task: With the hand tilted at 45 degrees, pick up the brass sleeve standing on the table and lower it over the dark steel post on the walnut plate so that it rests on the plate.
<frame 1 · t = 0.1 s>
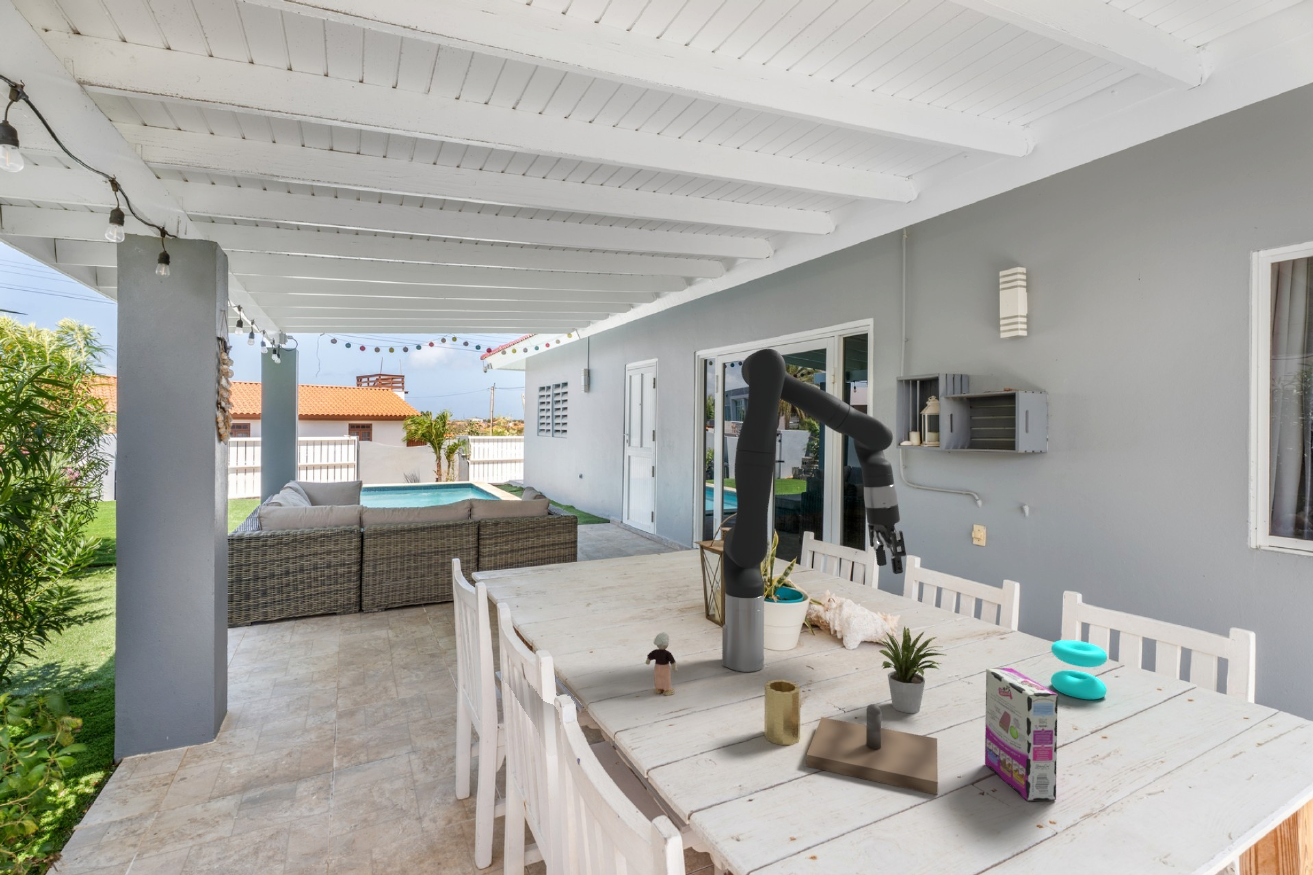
hand: (889, 569, 153), 22 cm above the table, tool pointing down, fingers open, 8 cm apart
brass sleeve: (782, 736, 115), on the table
candy bar box: (1019, 782, 101), on the table
grandmother figurine: (661, 692, 135), on the table
house plant: (904, 710, 126), on the table
donuts: (1078, 692, 135), on the table
post plate: (873, 757, 108), on the table
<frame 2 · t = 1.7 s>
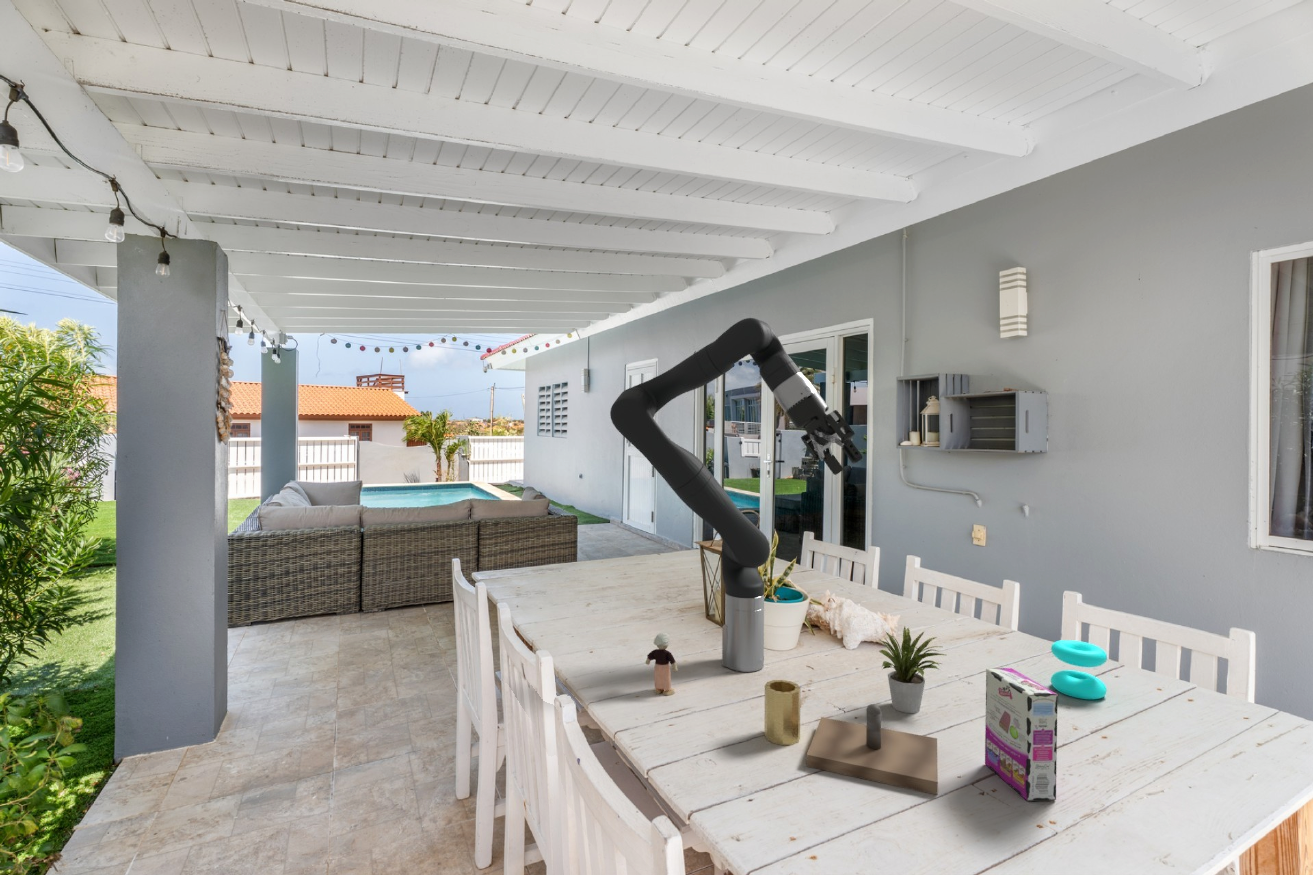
hand: (848, 467, 123), 49 cm above the table, tool tilted 35°, fingers open, 8 cm apart
nothing on the table moved.
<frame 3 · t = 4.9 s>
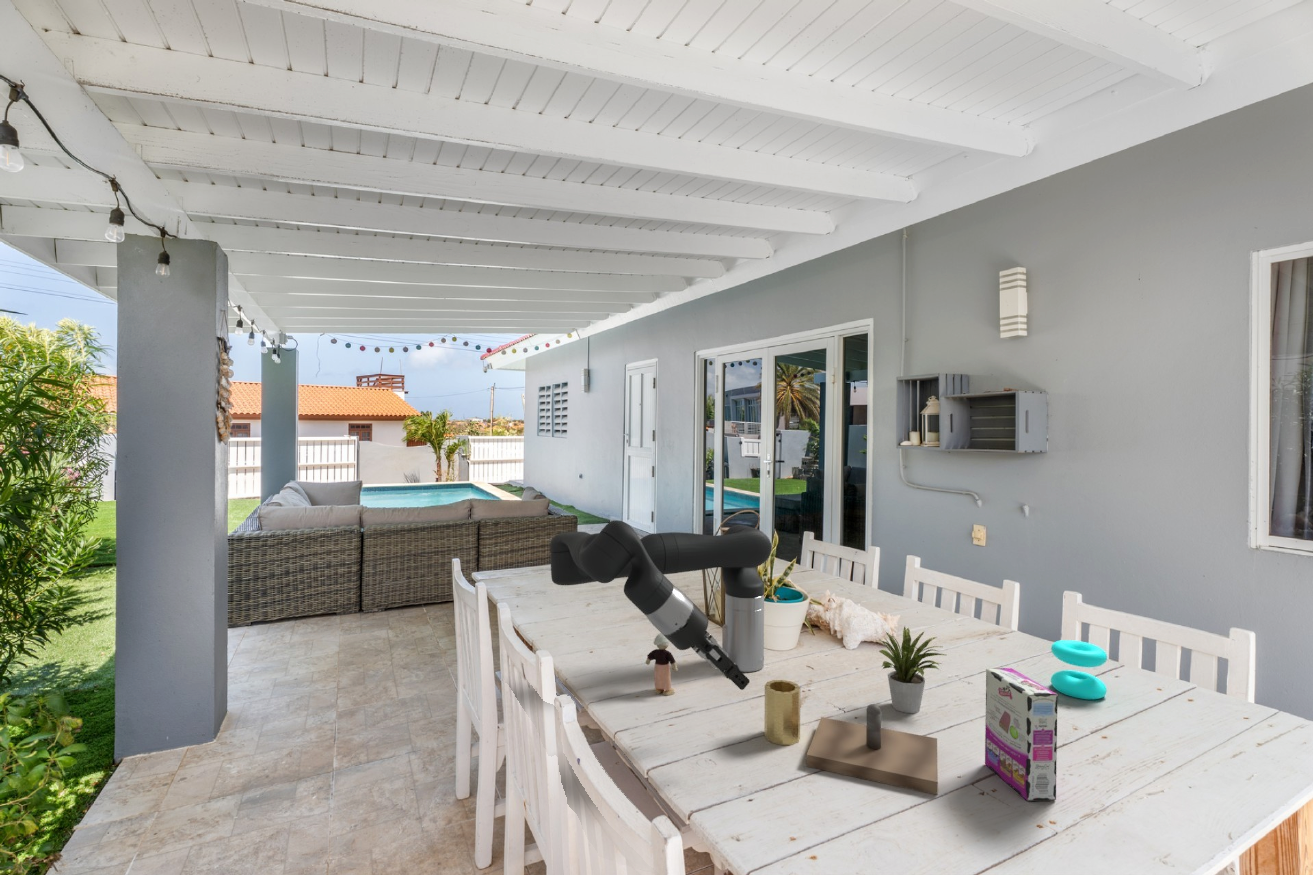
hand: (735, 675, 112), 12 cm above the table, tool tilted 45°, fingers open, 8 cm apart
nothing on the table moved.
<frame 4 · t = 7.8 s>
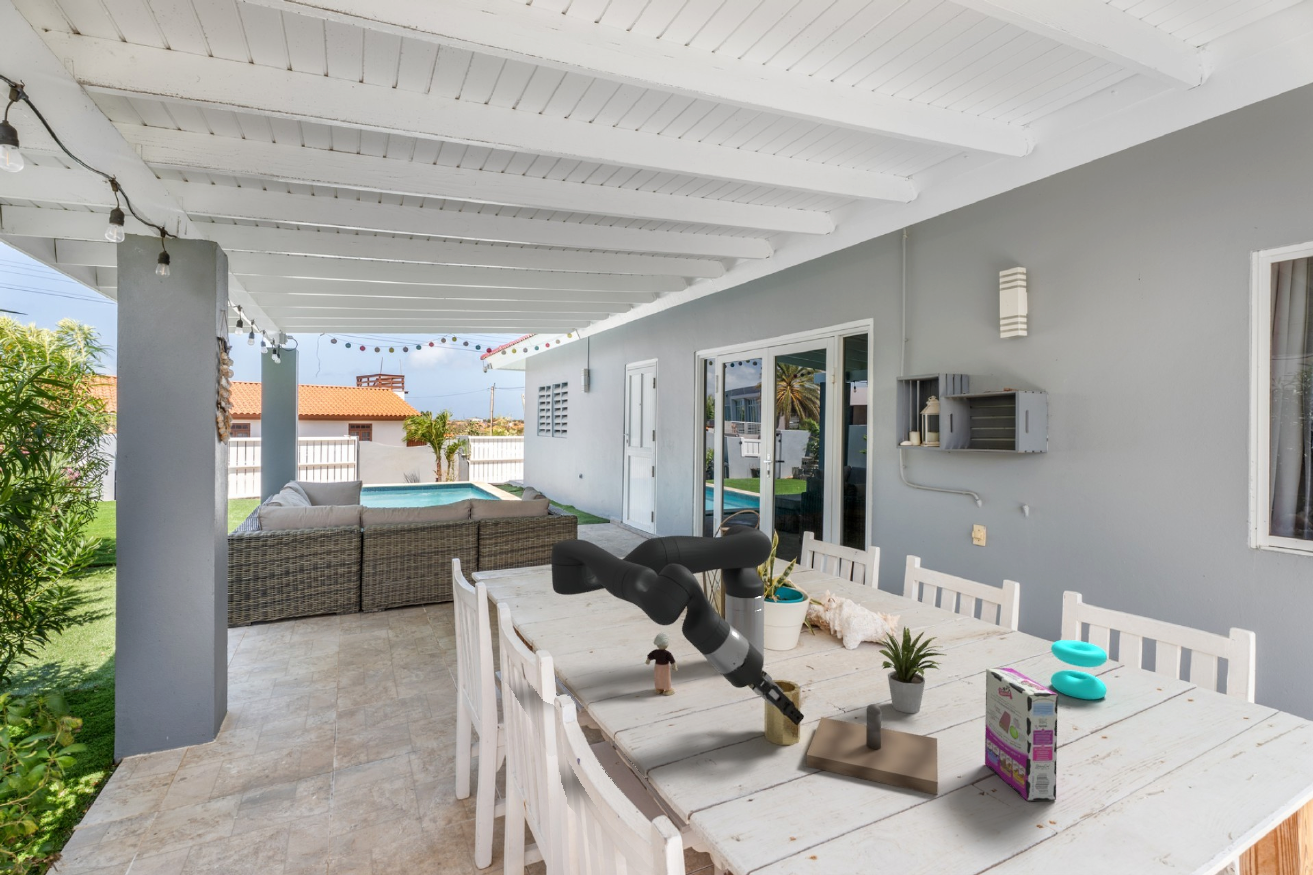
hand: (790, 711, 116), 4 cm above the table, tool tilted 45°, fingers closed on brass sleeve, 6 cm apart
brass sleeve: (782, 736, 115), on the table, touching gripper
everything else where it was.
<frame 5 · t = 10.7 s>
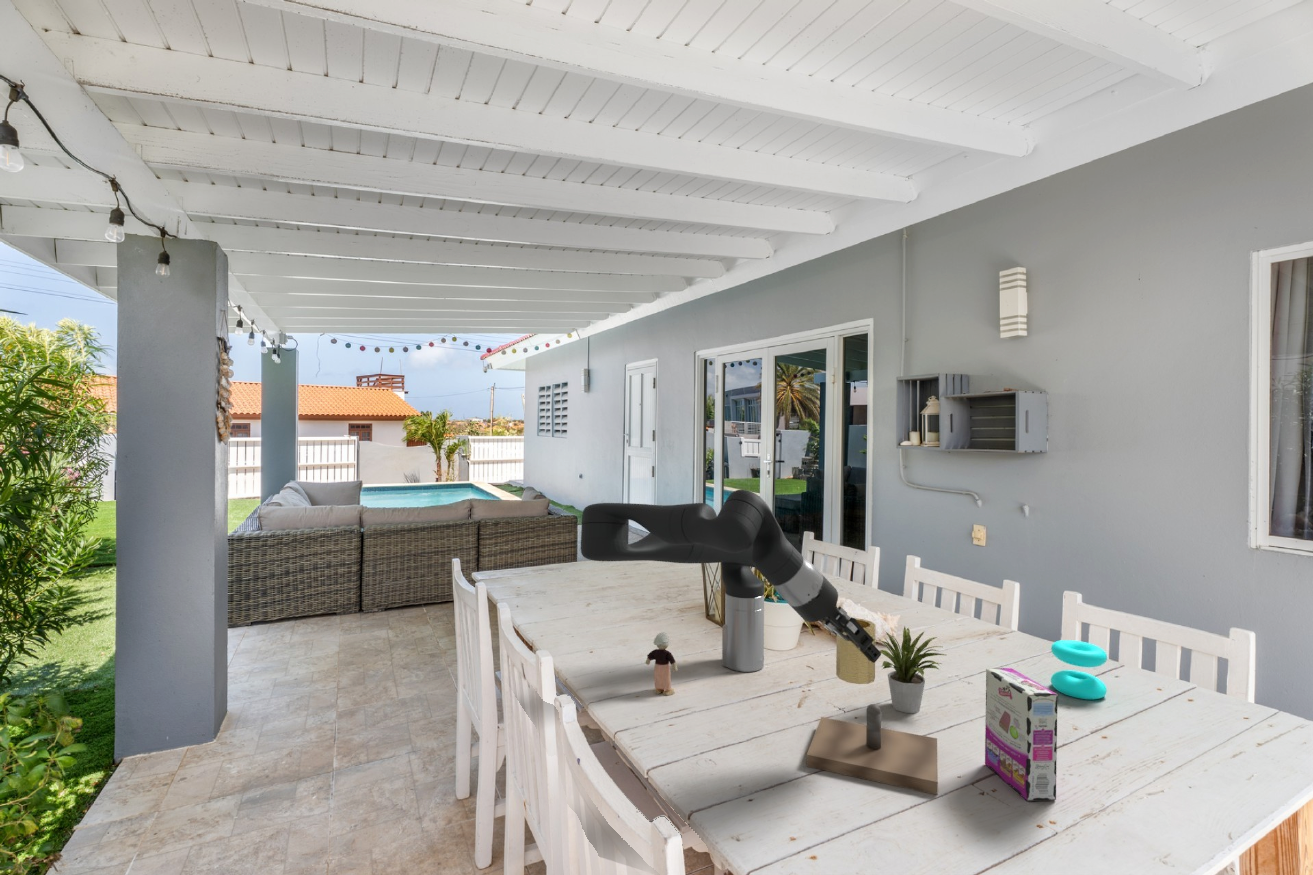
hand: (864, 650, 109), 18 cm above the table, tool tilted 45°, fingers closed on brass sleeve, 6 cm apart
brass sleeve: (855, 676, 108), point 14 cm above the table, touching gripper
everything else where it was.
when the fingers open (8 cm above the table, at t = 13.6 s): brass sleeve drops 1 cm, resting on post plate.
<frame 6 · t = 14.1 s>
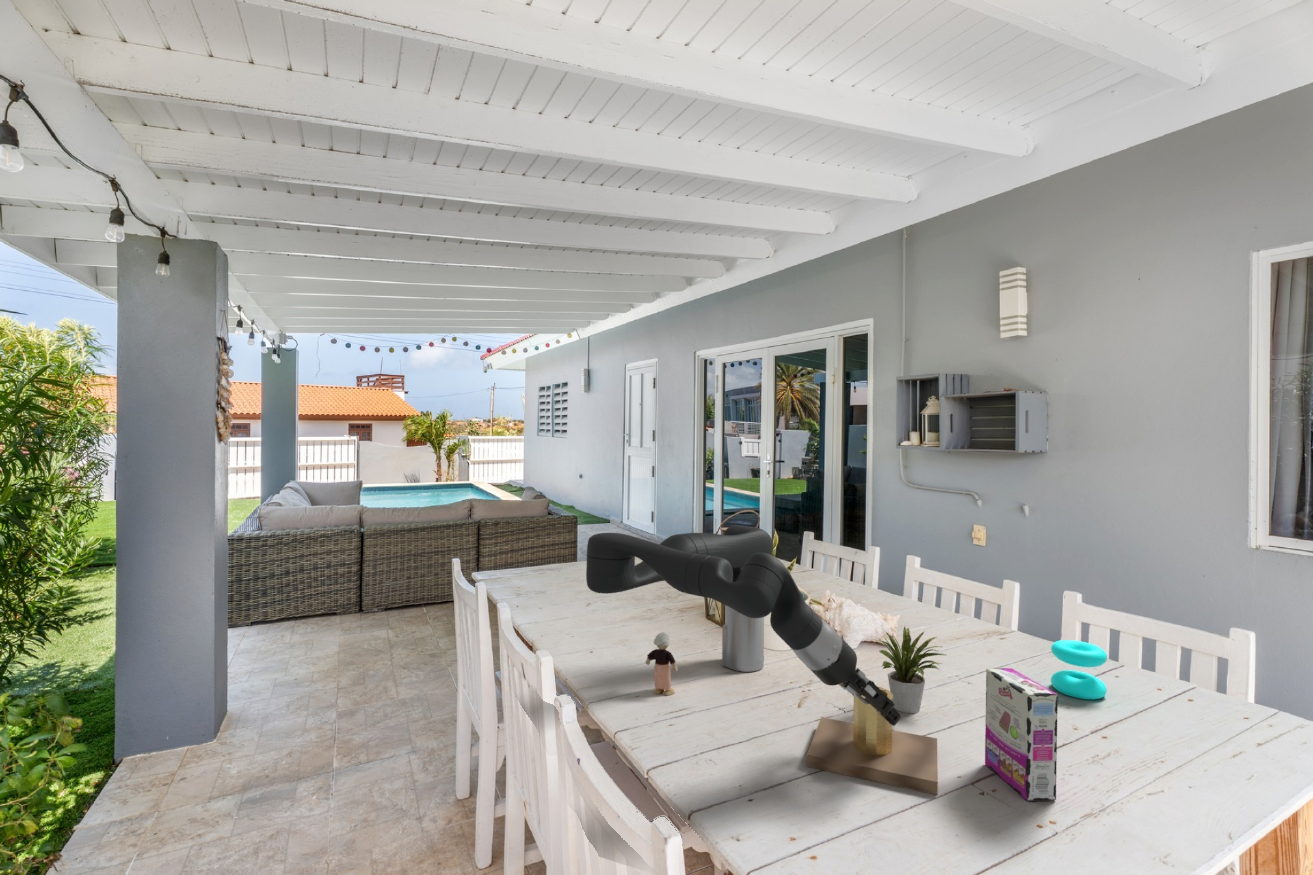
hand: (880, 709, 108), 8 cm above the table, tool tilted 45°, fingers open, 8 cm apart
brass sleeve: (872, 745, 108), point 2 cm above the table, touching post plate
everything else where it was.
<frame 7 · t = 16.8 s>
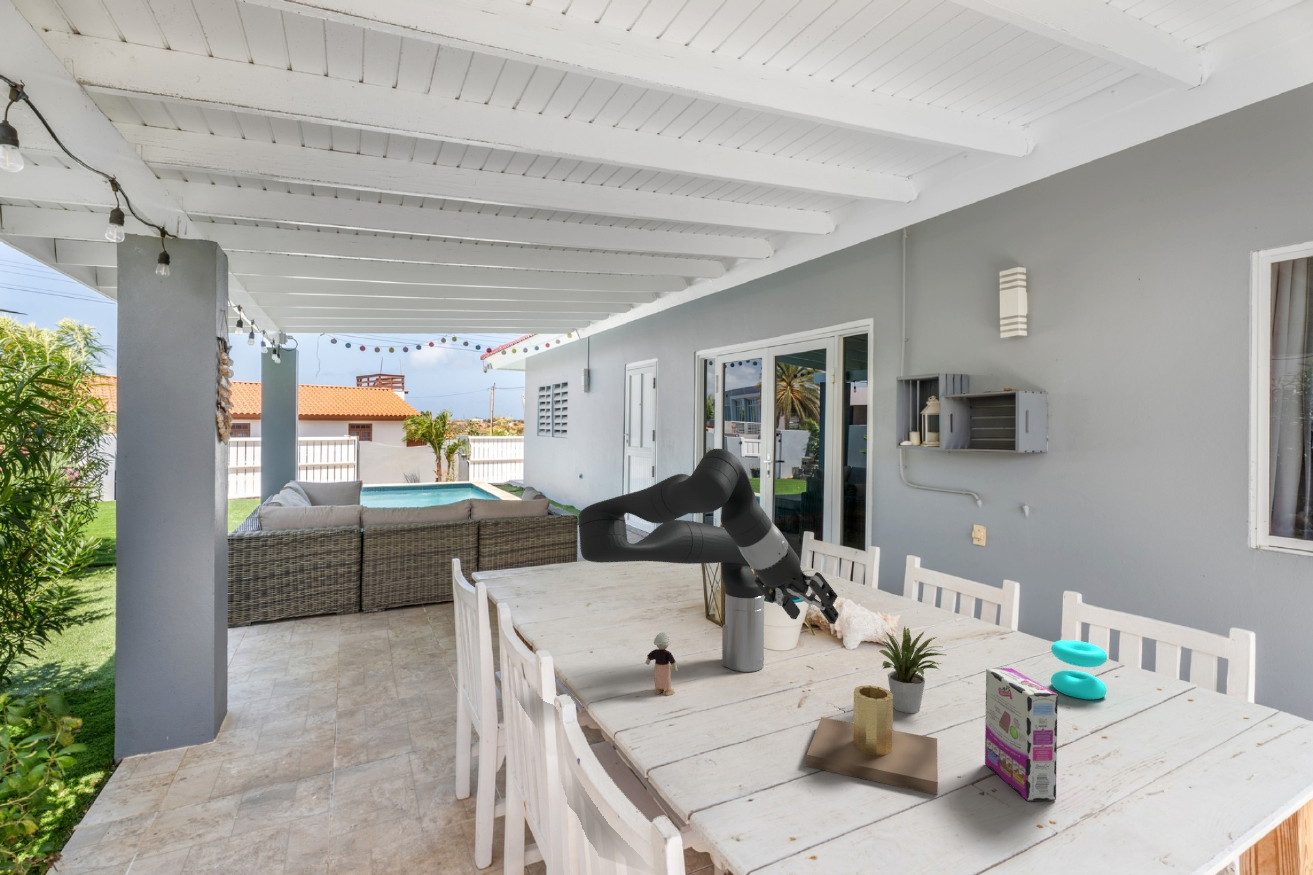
hand: (815, 617, 111), 23 cm above the table, tool tilted 40°, fingers open, 8 cm apart
nothing on the table moved.
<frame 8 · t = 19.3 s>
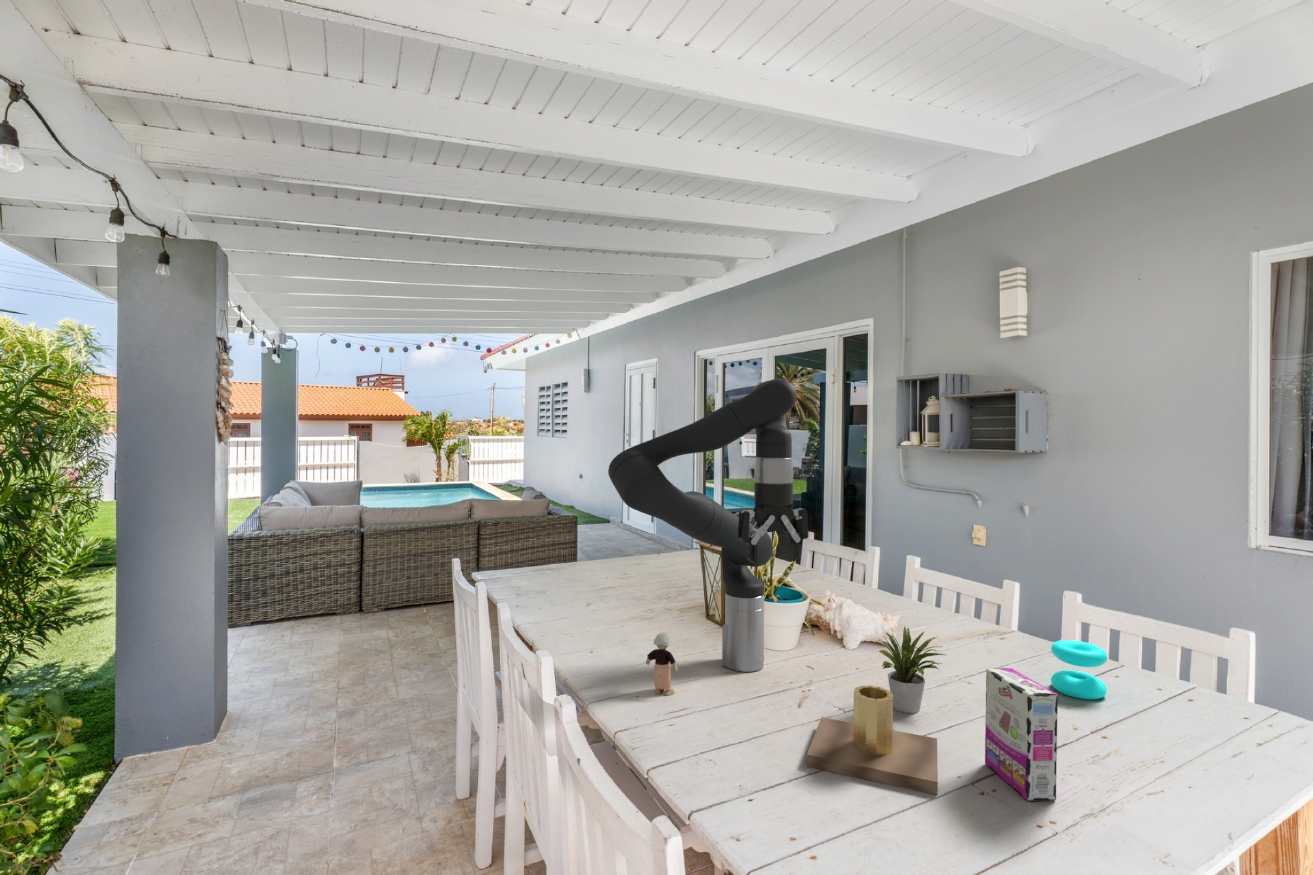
hand: (773, 561, 125), 30 cm above the table, tool pointing down, fingers open, 8 cm apart
nothing on the table moved.
at the end: brass sleeve 0.1 cm off-centre on the post plate, point 2.0 cm above the post plate's base; brass sleeve tilted 0°; the gripper is holding nothing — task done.
